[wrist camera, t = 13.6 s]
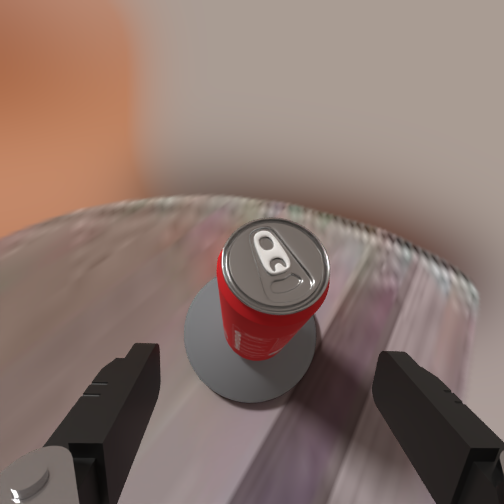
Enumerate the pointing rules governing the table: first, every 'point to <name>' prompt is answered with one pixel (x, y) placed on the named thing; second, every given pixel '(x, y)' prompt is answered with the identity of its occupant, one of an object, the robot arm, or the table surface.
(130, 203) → the table surface
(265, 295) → the beverage can
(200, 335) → the rubber mat
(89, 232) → the table surface
